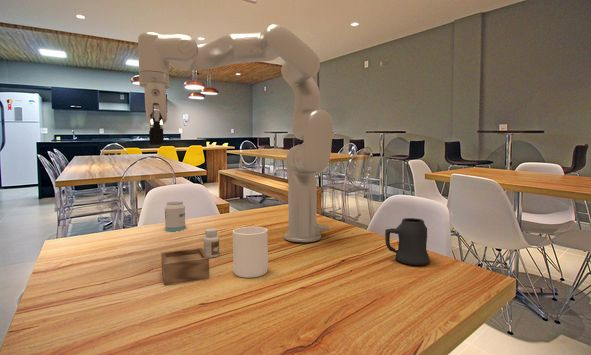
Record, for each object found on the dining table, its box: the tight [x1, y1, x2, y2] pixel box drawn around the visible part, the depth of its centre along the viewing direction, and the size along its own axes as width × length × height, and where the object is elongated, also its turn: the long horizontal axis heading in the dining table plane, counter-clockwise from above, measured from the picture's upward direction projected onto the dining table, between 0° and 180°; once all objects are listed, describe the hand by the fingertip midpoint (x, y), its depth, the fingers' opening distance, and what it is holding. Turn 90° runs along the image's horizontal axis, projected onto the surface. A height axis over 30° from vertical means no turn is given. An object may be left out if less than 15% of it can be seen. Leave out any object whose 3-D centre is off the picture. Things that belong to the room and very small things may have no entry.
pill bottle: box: [203, 227, 220, 259], centre depth 97 cm, size 4×4×8 cm
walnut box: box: [160, 247, 210, 286], centre depth 82 cm, size 10×10×5 cm
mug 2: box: [384, 217, 430, 266], centre depth 93 cm, size 12×9×11 cm
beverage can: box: [164, 201, 186, 233], centre depth 123 cm, size 7×7×12 cm
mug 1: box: [232, 226, 269, 279], centre depth 85 cm, size 9×12×11 cm
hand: (156, 144), depth 92 cm, fingers open, 9 cm apart
